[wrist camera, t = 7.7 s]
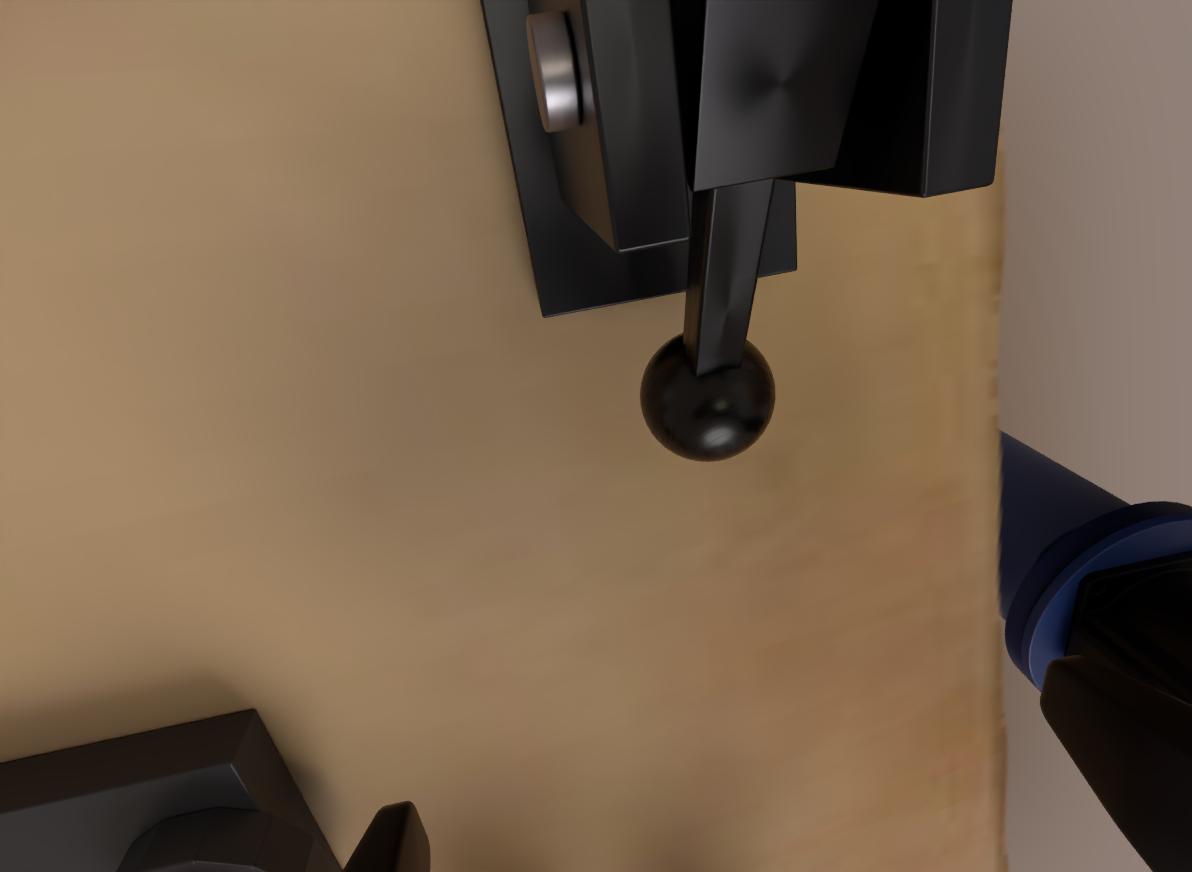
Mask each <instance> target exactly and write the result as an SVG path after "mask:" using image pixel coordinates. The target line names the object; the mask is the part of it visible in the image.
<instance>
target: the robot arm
mask: <svg viewBox="0 0 1192 872" xmlns="http://www.w3.org/2000/svg"><path fill="white" fill-rule="evenodd" d="M1040 706H1041V710H1042V712H1043V715H1044V717H1045V719H1046V720H1047V722H1048V723H1049V725H1050V726H1051V728H1052V730H1053V731H1054V732H1055V734H1056V736H1057V737H1058V739H1059V740H1060V742H1061V743H1062V745H1063V746H1064V748H1065V749H1066V750H1067V752H1068V754H1069V755H1070V757H1071V758H1072V760H1073V761H1074V763H1075V764H1076V766H1077V767H1078V768H1079V770H1080V772H1081V773H1082V775H1083V776H1084V777H1085V779H1086V781H1087V782H1088V784H1089V785H1090V787H1091V788H1092V790H1093V791H1094V792H1095V794H1096V796H1097V797H1098V799H1099V800H1100V802H1101V803H1102V805H1103V806H1104V808H1105V809H1106V811H1107V812H1108V813H1109V815H1110V816H1111V818H1112V819H1113V821H1114V822H1115V823H1116V825H1117V826H1118V828H1119V829H1120V830H1121V832H1122V833H1123V834H1124V835H1125V837H1126V838H1127V840H1128V841H1129V842H1130V843H1131V845H1132V846H1133V847H1134V849H1136V851H1137V852H1138V854H1139V855H1140V856H1141V857H1142V859H1143V860H1144V861H1145V862H1146V864H1147V865H1148V866H1149V868H1150V869H1151V870H1152V871H1153V872H1192V550H1190V551H1185V552H1181V553H1176V554H1172V555H1167V556H1163V557H1158V558H1153V559H1149V560H1144V561H1140V562H1135V563H1130V564H1126V565H1121V566H1117V567H1112V568H1108V569H1103V570H1098V571H1094V572H1091V573H1088V574H1087V575H1085V576H1084V577H1083V578H1082V579H1081V580H1080V582H1079V585H1078V589H1077V594H1076V598H1075V603H1074V608H1073V613H1072V617H1071V622H1070V627H1069V632H1068V636H1067V641H1066V646H1065V651H1064V655H1063V658H1058V659H1054V660H1052V661H1051V662H1050V663H1049V664H1048V666H1047V669H1046V674H1045V678H1044V683H1043V687H1042V692H1041V696H1040ZM342 872H430V845H429V840H428V837H427V834H426V832H425V829H424V827H423V824H422V822H421V819H420V817H419V814H418V812H417V809H416V807H415V805H414V804H413V803H412V802H410V801H405V802H400V803H395V804H391V805H386V806H384V807H382V808H381V809H380V810H379V811H378V812H377V814H376V815H375V817H374V818H373V820H372V822H371V824H370V825H369V827H368V829H367V830H366V832H365V834H364V835H363V837H362V839H361V840H360V842H359V844H358V846H357V847H356V849H355V851H354V852H353V854H352V856H351V857H350V859H349V861H348V863H347V864H346V866H345V868H344V869H343V871H342Z"/></svg>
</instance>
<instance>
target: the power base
mask: <svg viewBox="0 0 1192 872" xmlns="http://www.w3.org/2000/svg"><path fill="white" fill-rule="evenodd" d="M0 872H342V870H341V868H340V866H339V865H338V863H337V861H336V859H335V857H334V855H333V853H332V852H331V850H330V848H329V846H328V844H327V842H326V840H325V839H324V837H323V835H322V833H321V831H320V829H319V828H318V826H317V824H316V822H315V820H314V818H313V816H312V815H311V813H310V811H309V809H308V807H307V805H306V803H305V802H304V800H303V798H302V796H301V794H300V792H299V790H298V789H297V787H296V785H295V783H294V781H293V779H292V777H291V776H290V774H289V772H288V770H287V768H286V766H285V764H284V763H283V761H282V759H281V757H280V755H279V753H278V751H277V750H276V748H275V746H274V744H273V742H272V740H271V738H270V737H269V735H268V733H267V731H266V729H265V727H264V725H263V724H262V722H261V720H260V718H259V716H258V714H257V713H256V711H255V710H250V711H245V712H240V713H236V714H231V715H226V716H222V717H217V718H212V719H208V720H203V721H198V722H194V723H189V724H184V725H180V726H175V727H170V728H166V729H161V730H157V731H152V732H147V733H143V734H138V735H133V736H129V737H124V738H119V739H115V740H110V741H105V742H101V743H96V744H91V745H87V746H82V747H77V748H73V749H68V750H63V751H59V752H54V753H50V754H45V755H40V756H36V757H31V758H26V759H22V760H17V761H12V762H8V763H3V764H0Z"/></svg>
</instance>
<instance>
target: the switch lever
mask: <svg viewBox="0 0 1192 872" xmlns="http://www.w3.org/2000/svg"><path fill="white" fill-rule="evenodd" d="M880 2H881V0H671V6H672V17H673V28H674V40H675V51H676V62H677V74H678V85H679V96H680V107H681V119H682V130H683V141H684V153H685V164H686V175H687V183H688V186H689V188H690V190H691V192H693V197H692V212H691V231H692V236H691V239H690V242H689V257H688V272H687V288H686V303H685V318H684V333H682V334H679V335H678V336H676V337H674V338H672V339H671V340H669V341H668V342H666V343H665V344H664V345H663V346H662V347H661V348H660V349H659V350H658V351H657V352H656V353H655V354H654V356H653V357H652V358H651V360H650V361H649V363H648V365H647V367H646V369H645V372H644V375H643V378H642V382H641V389H640V403H641V409H642V413H643V416H644V419H645V421H646V424H647V426H648V428H649V429H650V431H651V433H652V434H653V435H654V437H655V438H656V439H657V440H658V441H659V442H660V443H661V444H662V445H663V446H664V447H665V448H667V449H668V450H670V451H671V452H673V453H675V454H677V455H679V456H681V457H684V458H686V459H690V460H694V461H702V462H713V461H720V460H725V459H728V458H731V457H733V456H736V455H738V454H740V453H742V452H743V451H745V450H746V449H747V448H749V447H750V446H751V445H752V444H754V443H755V442H756V441H757V440H758V439H759V437H760V436H761V435H762V434H763V432H764V431H765V429H766V427H767V425H768V424H769V422H770V419H771V416H772V413H773V410H774V404H775V383H774V378H773V375H772V372H771V369H770V367H769V365H768V363H767V361H766V360H765V358H764V356H763V355H762V354H761V353H760V351H759V350H758V349H757V348H756V347H755V346H754V345H753V344H752V343H750V342H749V341H748V340H746V337H747V332H748V327H749V321H750V316H751V311H752V305H753V300H754V294H755V289H756V284H757V278H758V273H759V268H760V262H761V257H762V251H763V246H764V241H765V235H766V230H767V225H768V219H769V214H770V208H771V203H772V198H773V192H774V187H775V182H776V178H778V177H784V176H789V175H795V174H801V173H806V172H812V171H817V170H823V169H828V168H833V167H835V166H836V165H837V162H838V158H839V154H840V151H841V147H842V143H843V139H844V136H845V132H846V128H847V125H848V121H849V117H850V113H851V110H852V106H853V102H854V99H855V95H856V91H857V87H858V84H859V80H860V76H861V72H862V69H863V65H864V61H865V58H866V54H867V50H868V46H869V43H870V39H871V35H872V32H873V28H874V24H875V20H876V17H877V13H878V9H879V6H880Z"/></svg>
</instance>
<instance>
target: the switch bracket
mask: <svg viewBox="0 0 1192 872" xmlns="http://www.w3.org/2000/svg"><path fill="white" fill-rule="evenodd" d="M1012 1H1013V0H881V2H880V6H879V9H878V13H877V17H876V20H875V24H874V28H873V32H872V35H871V39H870V43H869V46H868V50H867V54H866V58H865V61H864V65H863V69H862V72H861V76H860V80H859V84H858V87H857V91H856V95H855V99H854V102H853V106H852V110H851V113H850V117H849V121H848V125H847V128H846V132H845V136H844V139H843V143H842V147H841V151H840V154H839V158H838V162H837V165H836V166H835V167H833V168H828V169H823V170H817V171H812V172H806V173H801V174H795V175H789V176H784V177H778V178H776V182H775V187H774V192H773V198H772V203H771V208H770V214H769V219H768V225H767V230H766V235H765V241H764V246H763V251H762V257H761V262H760V268H759V273H758V278H760V277H765V276H771V275H776V274H781V273H787V272H792V271H795V270H797V237H796V189H795V182H801V183H809V184H817V185H825V186H833V187H841V188H849V189H857V190H865V191H873V192H881V193H889V194H897V195H905V196H913V197H921V198H926V197H931V196H937V195H942V194H947V193H953V192H958V191H964V190H969V189H975V188H980V187H985V186H989V185H991V184H992V183H993V181H994V175H995V165H996V156H997V146H998V136H999V127H1000V117H1001V108H1002V98H1003V88H1004V78H1005V68H1006V59H1007V50H1008V49H1007V48H1008V40H1009V30H1010V21H1011V12H1012ZM480 3H481V8H482V13H483V18H484V23H485V28H486V34H487V39H488V44H489V49H490V54H491V59H492V64H493V69H494V74H495V79H496V84H497V90H498V95H499V100H500V105H501V110H502V115H503V120H504V125H505V130H506V135H507V140H508V146H509V151H510V156H511V161H512V166H513V171H514V176H515V181H516V186H517V191H518V196H519V202H520V207H521V212H522V217H523V222H524V227H525V232H526V237H527V242H528V247H529V253H530V258H531V263H532V268H533V273H534V278H535V283H536V288H537V293H538V298H539V303H540V308H541V313H542V316H543V317H544V318H547V317H553V316H558V315H563V314H569V313H574V312H579V311H585V310H590V309H595V308H601V307H606V306H611V305H617V304H622V303H627V302H632V301H638V300H643V299H648V298H654V297H659V296H664V295H670V294H675V293H680V292H686V288H687V272H688V257H689V242H690V239H691V236H692V231H691V212H692V197H693V192H691V190H690V188H689V186H688V183H687V175H686V164H685V153H684V141H683V130H682V119H681V107H680V96H679V85H678V74H677V62H676V51H675V40H674V28H673V17H672V6H671V0H480Z"/></svg>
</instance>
